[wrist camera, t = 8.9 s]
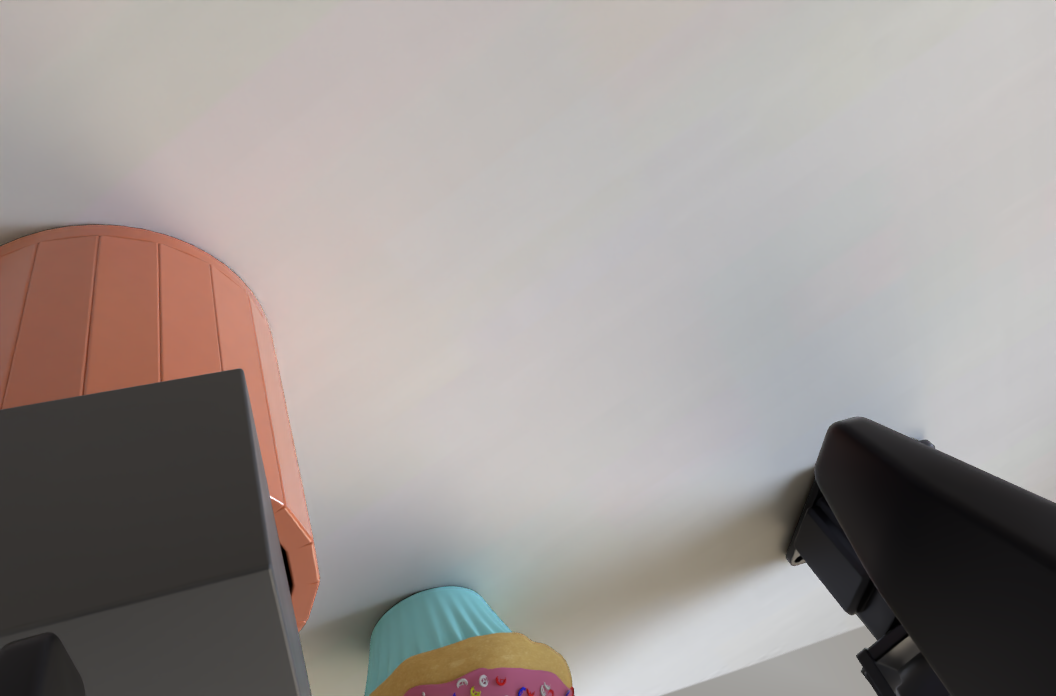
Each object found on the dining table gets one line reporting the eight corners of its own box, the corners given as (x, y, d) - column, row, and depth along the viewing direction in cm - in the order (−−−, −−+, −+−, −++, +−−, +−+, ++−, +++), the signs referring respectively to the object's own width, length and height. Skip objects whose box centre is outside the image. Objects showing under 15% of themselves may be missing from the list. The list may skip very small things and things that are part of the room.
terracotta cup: (248, 205, 19) (292, 415, 13) (289, 438, 24) (336, 672, 18) (-134, 247, 17) (-290, 528, 11) (-5, 498, 21) (-65, 792, 15)
